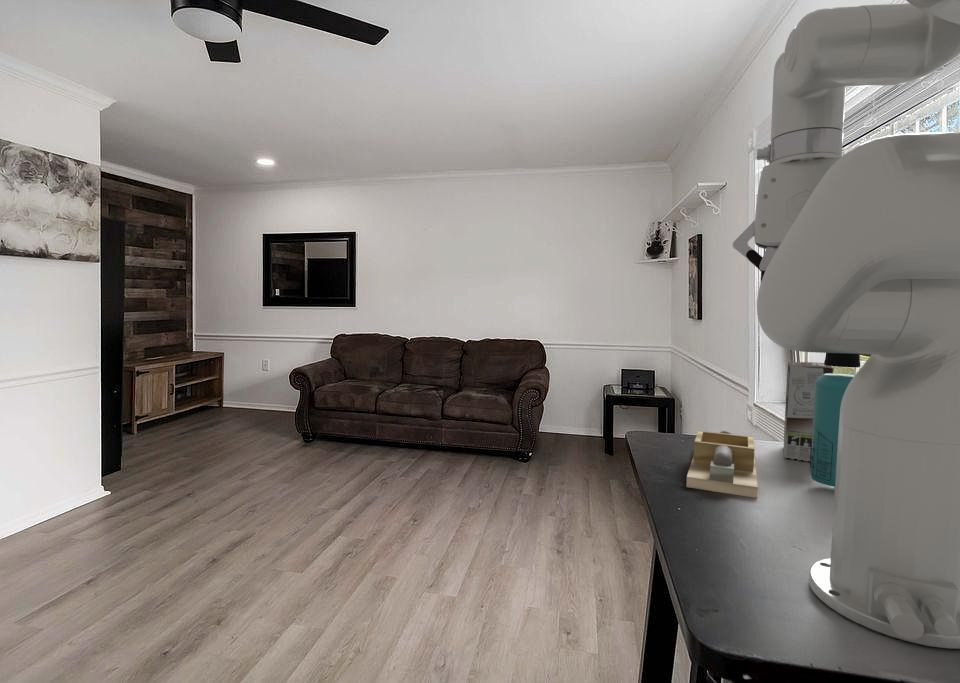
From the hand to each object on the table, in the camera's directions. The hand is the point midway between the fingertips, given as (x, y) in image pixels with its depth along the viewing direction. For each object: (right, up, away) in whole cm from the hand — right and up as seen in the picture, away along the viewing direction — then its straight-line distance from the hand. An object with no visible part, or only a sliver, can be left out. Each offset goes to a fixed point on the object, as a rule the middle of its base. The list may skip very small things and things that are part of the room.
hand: (797, 301), depth 65 cm
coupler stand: (-1, -25, +18) cm, 31 cm away
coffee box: (+18, -25, +27) cm, 41 cm away
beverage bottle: (+11, -26, +9) cm, 30 cm away
